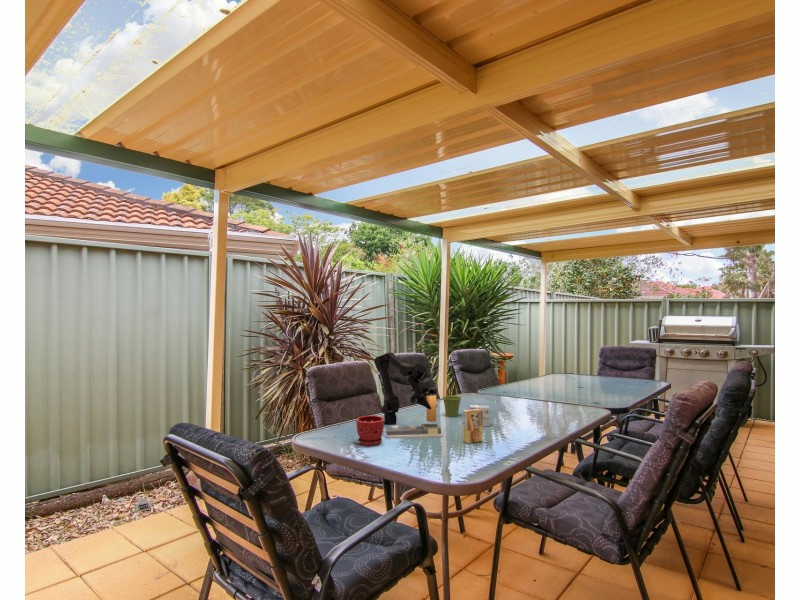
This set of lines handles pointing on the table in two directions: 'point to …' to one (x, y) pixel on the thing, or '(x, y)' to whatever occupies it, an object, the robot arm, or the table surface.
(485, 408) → the light bulb box
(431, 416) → the cap
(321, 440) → the table surface
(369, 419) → the plant pot
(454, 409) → the plant pot
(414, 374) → the robot arm
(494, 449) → the table surface
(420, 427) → the breaker panel
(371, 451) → the table surface
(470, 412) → the candy box
